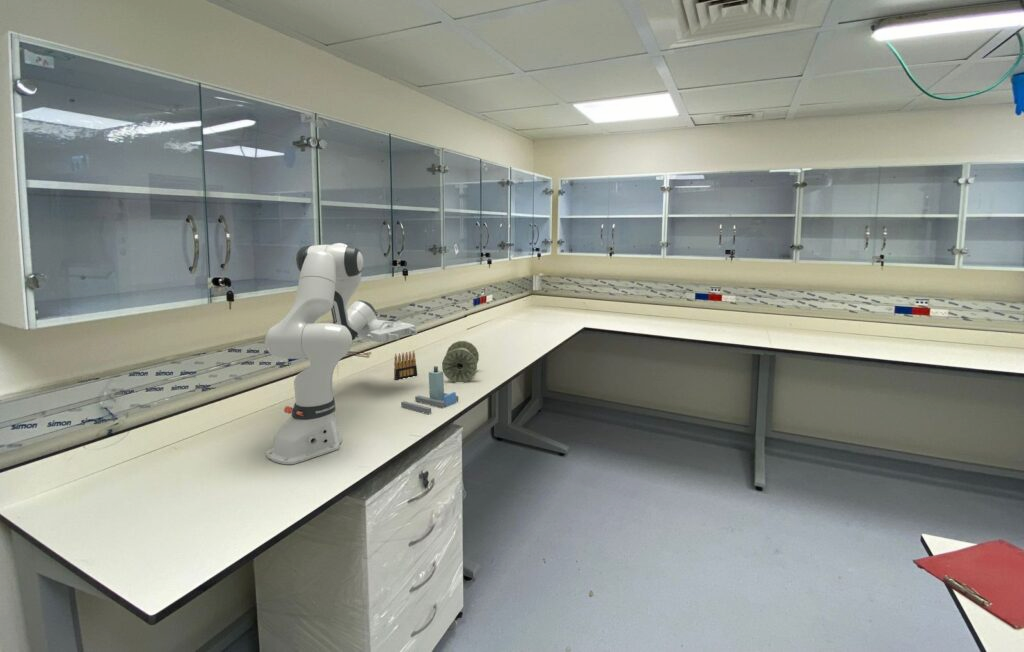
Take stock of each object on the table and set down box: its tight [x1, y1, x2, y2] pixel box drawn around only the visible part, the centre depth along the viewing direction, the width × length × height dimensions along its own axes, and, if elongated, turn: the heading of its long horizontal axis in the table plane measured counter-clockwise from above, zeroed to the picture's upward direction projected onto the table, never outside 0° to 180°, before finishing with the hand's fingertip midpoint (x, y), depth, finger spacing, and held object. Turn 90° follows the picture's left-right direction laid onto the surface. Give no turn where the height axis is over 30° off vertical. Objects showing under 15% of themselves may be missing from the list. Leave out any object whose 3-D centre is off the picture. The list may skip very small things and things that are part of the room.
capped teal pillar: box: [428, 365, 445, 401], centre depth 201 cm, size 4×4×14 cm
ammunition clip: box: [393, 350, 418, 381], centre depth 232 cm, size 11×2×12 cm, turn 129°
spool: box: [441, 340, 480, 383], centre depth 232 cm, size 16×15×15 cm
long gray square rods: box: [400, 391, 459, 415], centre depth 198 cm, size 17×14×4 cm
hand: (407, 334), depth 205 cm, fingers open, 8 cm apart
